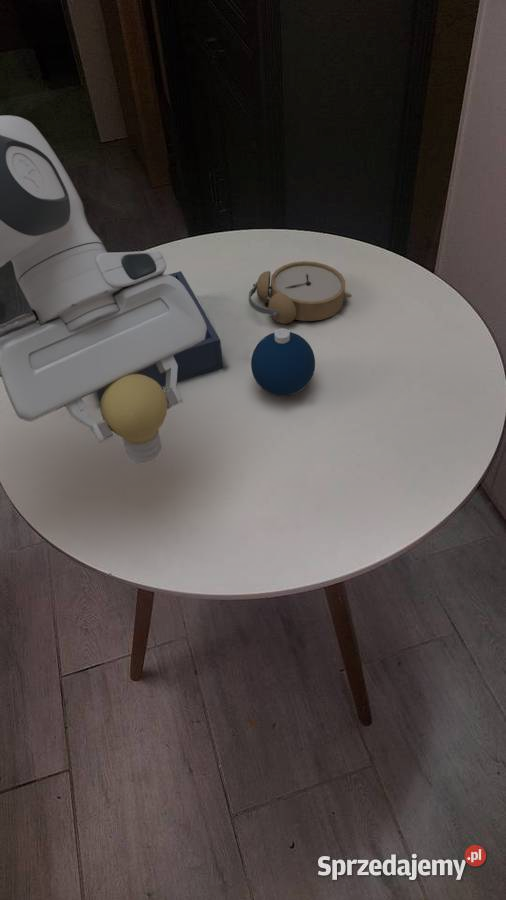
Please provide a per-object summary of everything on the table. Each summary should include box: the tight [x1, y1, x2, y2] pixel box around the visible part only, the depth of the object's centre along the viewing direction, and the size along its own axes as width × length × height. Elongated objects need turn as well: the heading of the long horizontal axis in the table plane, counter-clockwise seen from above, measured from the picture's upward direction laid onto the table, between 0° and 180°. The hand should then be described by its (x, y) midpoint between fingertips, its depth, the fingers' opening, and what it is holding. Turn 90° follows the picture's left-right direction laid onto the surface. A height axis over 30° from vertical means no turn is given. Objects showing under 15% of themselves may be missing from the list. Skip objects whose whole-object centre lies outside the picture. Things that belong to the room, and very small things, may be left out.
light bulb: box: [99, 374, 168, 464], centre depth 68 cm, size 6×6×10 cm
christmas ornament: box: [250, 327, 316, 397], centre depth 89 cm, size 8×8×10 cm
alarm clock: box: [248, 260, 353, 325], centre depth 103 cm, size 11×5×15 cm
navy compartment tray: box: [95, 270, 224, 404], centre depth 98 cm, size 18×18×5 cm
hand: (141, 422), depth 67 cm, fingers closed on light bulb, 6 cm apart
